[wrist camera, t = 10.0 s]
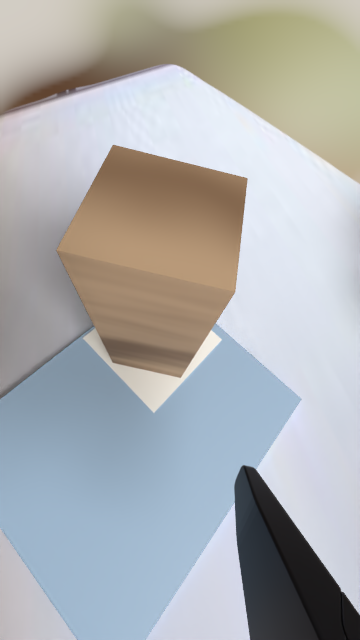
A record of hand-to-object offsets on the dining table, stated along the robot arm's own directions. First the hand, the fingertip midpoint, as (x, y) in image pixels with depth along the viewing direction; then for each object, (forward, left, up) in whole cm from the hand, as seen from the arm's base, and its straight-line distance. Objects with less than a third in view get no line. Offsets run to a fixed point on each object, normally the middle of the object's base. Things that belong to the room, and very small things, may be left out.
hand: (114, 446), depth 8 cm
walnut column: (+6, +4, -8) cm, 11 cm away
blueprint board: (+1, 0, -8) cm, 8 cm away
